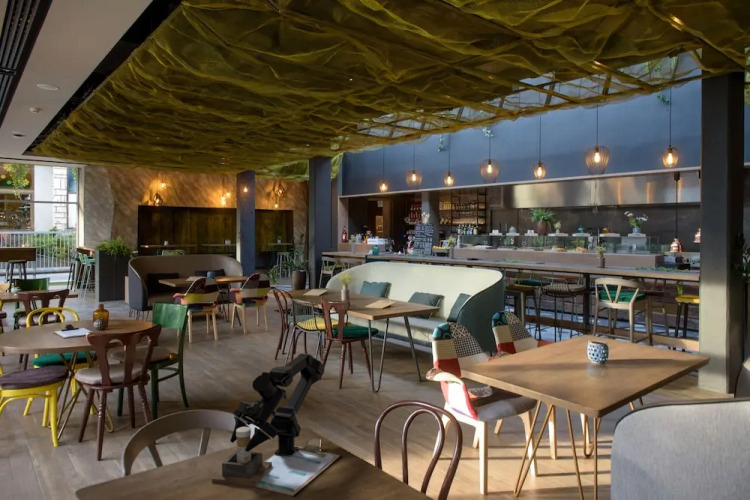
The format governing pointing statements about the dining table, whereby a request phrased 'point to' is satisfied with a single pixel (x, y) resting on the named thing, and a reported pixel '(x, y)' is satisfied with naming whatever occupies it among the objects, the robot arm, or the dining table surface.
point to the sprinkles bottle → (243, 445)
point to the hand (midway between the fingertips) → (238, 446)
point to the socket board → (242, 470)
